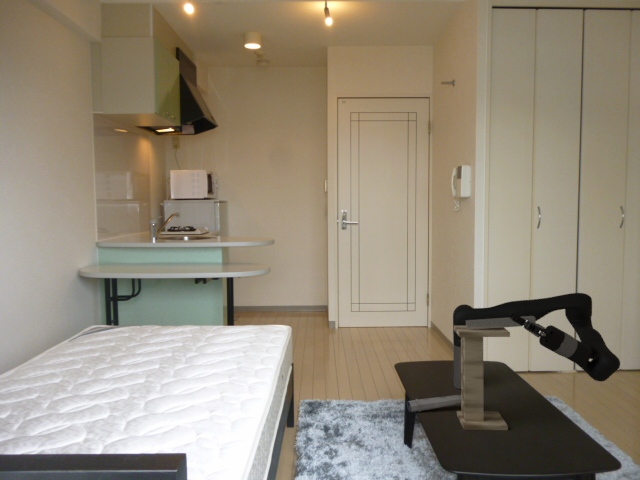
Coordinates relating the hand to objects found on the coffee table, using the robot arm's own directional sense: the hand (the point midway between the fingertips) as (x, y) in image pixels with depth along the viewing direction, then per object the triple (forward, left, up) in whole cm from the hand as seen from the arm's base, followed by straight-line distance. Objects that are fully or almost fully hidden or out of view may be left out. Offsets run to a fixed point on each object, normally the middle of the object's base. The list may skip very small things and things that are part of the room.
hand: (512, 316), depth 165 cm
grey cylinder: (-10, -21, -37) cm, 44 cm away
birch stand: (0, -10, -36) cm, 38 cm away
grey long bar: (0, -4, -4) cm, 5 cm away
